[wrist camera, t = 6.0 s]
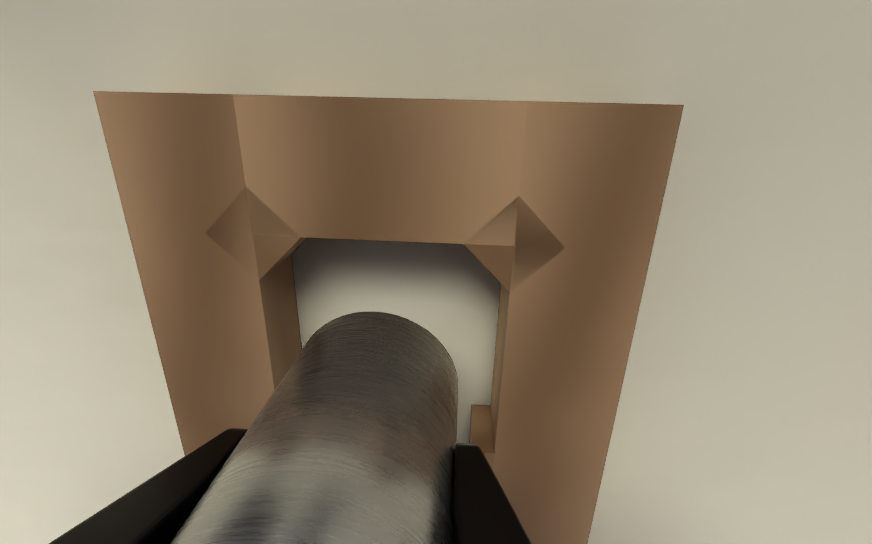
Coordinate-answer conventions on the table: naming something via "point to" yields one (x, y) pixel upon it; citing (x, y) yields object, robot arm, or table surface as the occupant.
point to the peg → (344, 446)
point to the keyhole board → (410, 222)
